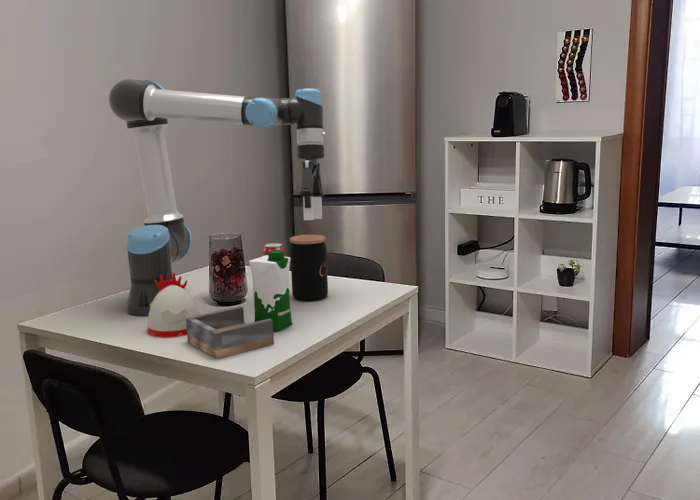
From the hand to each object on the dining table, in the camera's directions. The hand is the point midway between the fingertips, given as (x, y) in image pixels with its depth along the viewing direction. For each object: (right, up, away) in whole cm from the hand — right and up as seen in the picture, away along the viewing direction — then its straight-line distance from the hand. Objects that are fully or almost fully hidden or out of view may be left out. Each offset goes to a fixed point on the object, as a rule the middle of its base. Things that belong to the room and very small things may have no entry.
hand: (313, 219), depth 197 cm
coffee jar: (-1, -23, +9) cm, 25 cm away
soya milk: (-9, -29, -18) cm, 35 cm away
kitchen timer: (-35, -29, -17) cm, 49 cm away
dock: (-19, -31, -30) cm, 47 cm away
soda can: (-14, -19, +30) cm, 38 cm away
